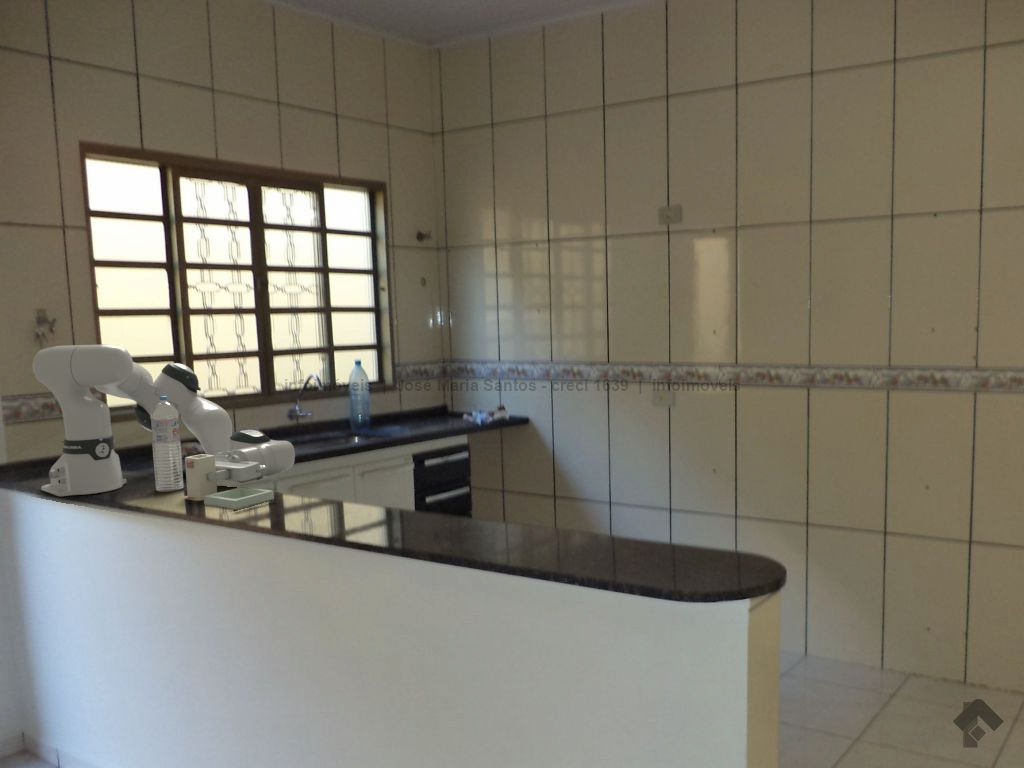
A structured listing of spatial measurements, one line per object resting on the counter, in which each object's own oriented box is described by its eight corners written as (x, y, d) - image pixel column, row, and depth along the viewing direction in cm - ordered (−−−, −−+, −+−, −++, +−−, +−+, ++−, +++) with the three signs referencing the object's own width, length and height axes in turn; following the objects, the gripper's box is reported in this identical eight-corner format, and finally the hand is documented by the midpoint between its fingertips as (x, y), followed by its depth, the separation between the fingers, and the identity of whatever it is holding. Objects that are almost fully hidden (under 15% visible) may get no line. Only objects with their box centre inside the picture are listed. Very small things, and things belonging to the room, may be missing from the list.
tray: (204, 506, 200) (203, 496, 200) (243, 496, 210) (242, 486, 210) (235, 511, 194) (235, 500, 194) (274, 500, 204) (273, 490, 203)
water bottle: (171, 487, 224) (164, 395, 222) (189, 489, 221) (182, 395, 219) (150, 492, 218) (142, 397, 216) (169, 494, 215) (161, 398, 213)
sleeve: (184, 497, 208) (181, 458, 207) (204, 492, 213) (202, 454, 212) (197, 499, 205) (194, 459, 204) (217, 494, 210) (214, 455, 209)
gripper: (272, 479, 215) (228, 492, 203) (220, 474, 226) (175, 485, 214) (270, 455, 214) (225, 466, 203) (218, 451, 225) (173, 461, 214)
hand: (199, 476), depth 209 cm, fingers closed on sleeve, 5 cm apart
